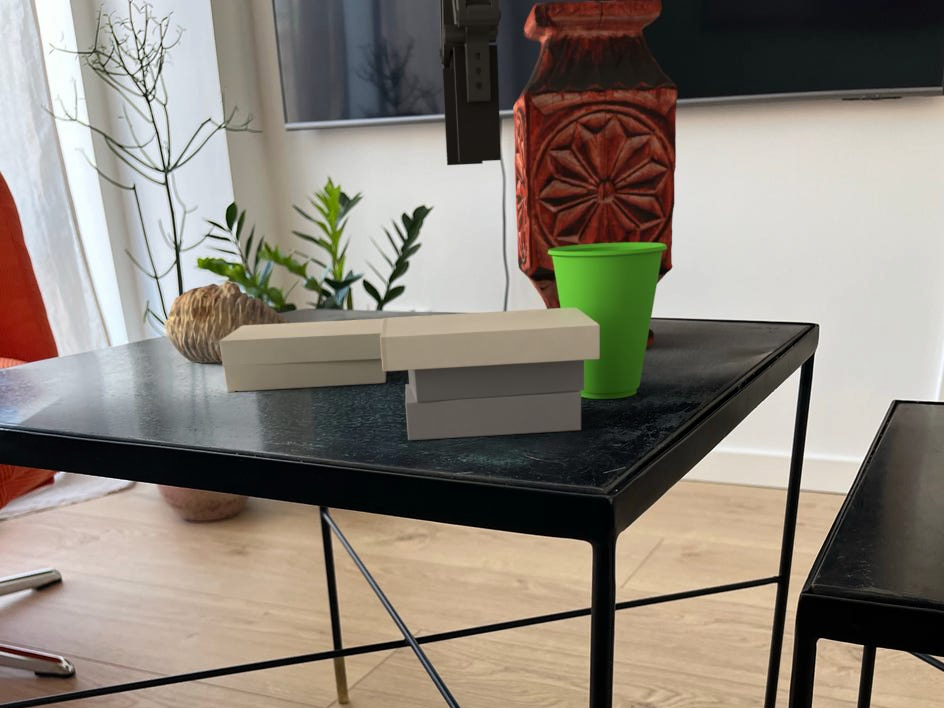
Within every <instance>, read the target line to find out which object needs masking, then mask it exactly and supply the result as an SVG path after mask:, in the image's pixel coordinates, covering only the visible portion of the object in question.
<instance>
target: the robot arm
mask: <svg viewBox="0 0 944 708" xmlns="http://www.w3.org/2000/svg"><path fill="white" fill-rule="evenodd" d="M438 1H439V29H440V30H439V35H440V36H439V38H440V48H439V49H438V55H439V58H440V62H441V63H440V64H441V65H442V70H441V71H442V72H441V75H442V91H443V94H442V95H443V111H444V131H445V148H446V149H445V151H446V152H445V153H446V165H447V166H461V165H464V166H465V165H482V164H483V162H490V161H491V162H493V161H494V162H495V161H501V160H502V153H501V123H500V122H501V121H500V119H501V118H500V116H501V115H500V90H499V89H500V88H499V85H500V84H499V55H498V44H492V43H497V37H499V27H500V22H501V20H502V10H501V9H500V4H499V0H438Z"/></svg>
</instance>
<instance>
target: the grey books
mask: <svg viewBox="0 0 944 708" xmlns="http://www.w3.org/2000/svg"><path fill="white" fill-rule="evenodd" d="M407 371H408V372H407V373H408V383H406V384H405V402H404V403H405V415H406V429H407V440H408V442H409V441H410V442H411V441H423V440H424V441H425V440H440V439H457V438H473V437H493V436H507V435H508V436H509V435H522V434H523V435H524V434H525V435H526V434H541V433H557V432H559V433H561V432H574V431H575V432H577V431H581V430H582V397H581V392H580V391H583V390H584V360H576V361H558V362H541V363H523V364H506V365H488V366H471V367H453V368H436V369H418V370H407Z"/></svg>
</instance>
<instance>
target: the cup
mask: <svg viewBox="0 0 944 708" xmlns="http://www.w3.org/2000/svg"><path fill="white" fill-rule="evenodd" d="M665 249H667V247H666V245H665V244H662V243H644V242H632V243H600V244H584V245H572V246H562V247H556V248H551V249H549V251H548V254H550V255H552V257H553V263H554V270H555V276H556V282H557V288H558V295H559V301H560V307H561V308H574V307H576V308H578V309H579V310H580V311H582V312H583V313H584V314H586V315H587V316H588V317H590V318H591V319H592V320H594V321H595V322H596V323H598V324H599V325H600V356H599V359H593V360H584V390H583V391H580V392H581V398H585V399H593V400H594V399H595V400H610V399H611V400H612V399H622V398H627V397H631V396H634V395H636V394H637V389H638V388H640V385H641V378H642V373H643V367H644V362H645V356H646V350H647V348H646V345H647V339H648V333H649V328H650V327H651V320H652V314H653V309H654V304H655V297H656V291H657V285H658V283H657V280H658V275H659V269H660V263H661V257H662V251H664V250H665Z"/></svg>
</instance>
